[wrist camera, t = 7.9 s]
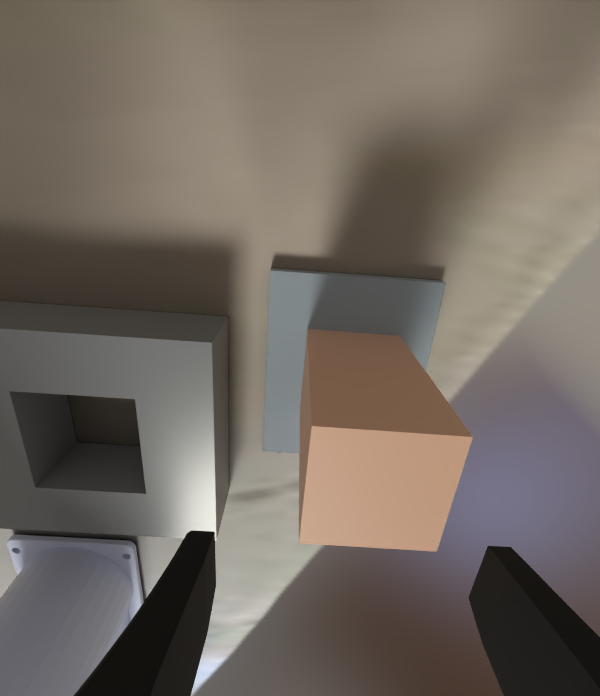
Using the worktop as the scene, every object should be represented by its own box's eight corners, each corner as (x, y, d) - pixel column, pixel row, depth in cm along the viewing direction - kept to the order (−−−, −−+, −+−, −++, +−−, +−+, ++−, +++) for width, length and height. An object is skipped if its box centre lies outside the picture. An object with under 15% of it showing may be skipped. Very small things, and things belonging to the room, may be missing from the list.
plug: (384, 415, 19) (436, 551, 12) (299, 409, 19) (299, 543, 12) (400, 335, 17) (472, 437, 10) (307, 328, 17) (311, 426, 10)
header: (228, 489, 22) (216, 540, 19) (-41, 474, 22) (-101, 522, 18) (228, 316, 18) (211, 342, 14) (-107, 293, 17) (-200, 314, 14)
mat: (402, 452, 21) (405, 459, 20) (263, 444, 21) (262, 451, 20) (441, 280, 17) (445, 283, 16) (270, 268, 17) (270, 270, 16)
